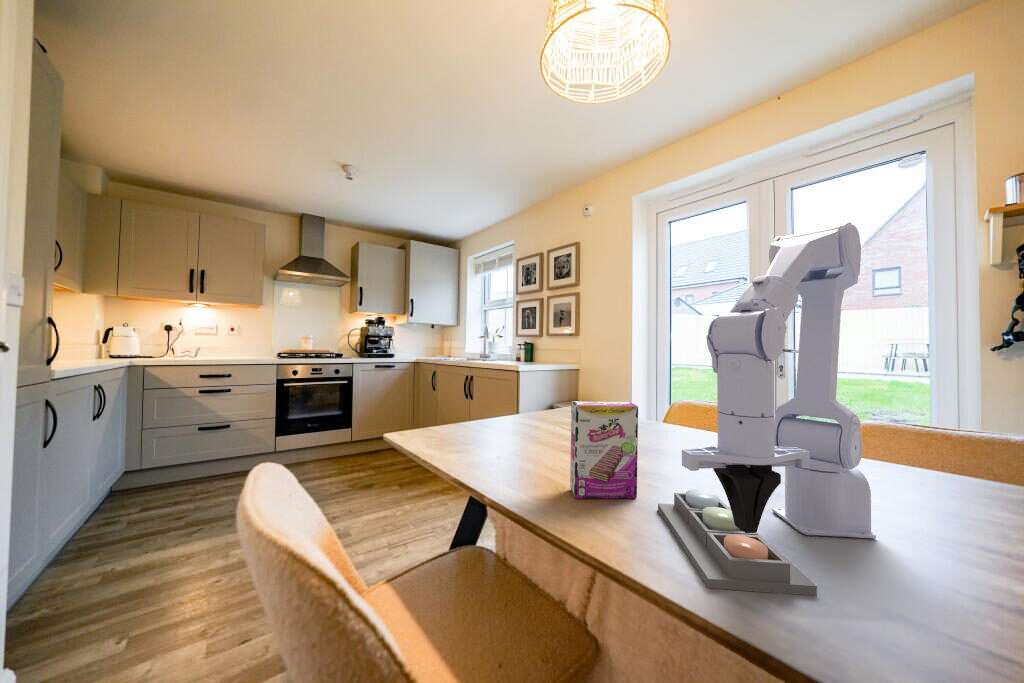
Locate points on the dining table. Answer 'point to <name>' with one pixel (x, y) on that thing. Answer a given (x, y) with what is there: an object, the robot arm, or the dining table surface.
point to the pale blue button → (701, 499)
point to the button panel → (719, 564)
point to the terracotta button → (745, 547)
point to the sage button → (719, 519)
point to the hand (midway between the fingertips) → (745, 528)
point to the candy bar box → (604, 449)
